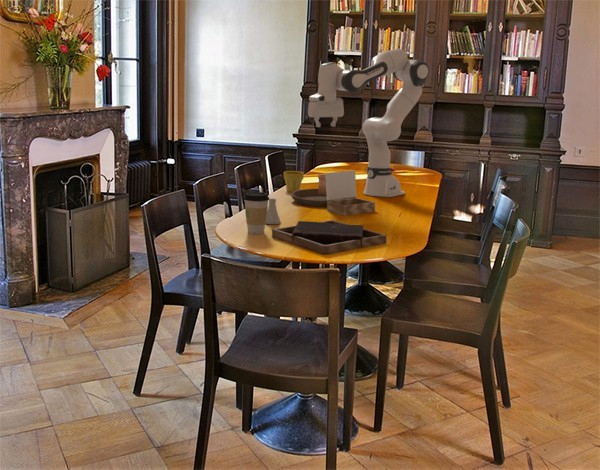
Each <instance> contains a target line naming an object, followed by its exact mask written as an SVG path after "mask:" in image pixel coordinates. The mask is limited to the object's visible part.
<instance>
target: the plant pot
mask: <svg viewBox="0 0 600 470" xmlns="http://www.w3.org/2000/svg"><path fill="white" fill-rule="evenodd" d="M283 180H284V182H285V188H286V192H291V193H292V192H294V191H297V190H301V186H302V182H303V180H304V172H303V171H299V170H286V171H284V172H283Z"/></svg>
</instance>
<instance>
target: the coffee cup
mask: <svg viewBox="0 0 600 470" xmlns="http://www.w3.org/2000/svg"><path fill="white" fill-rule="evenodd" d="M269 199H270V197H269V195H268V193H267V192H263V191H262V192H261V191H249V192H246V193H245V194H244V196H243V199H242V200H244V211H245V212H244V213H245V220H246V228H247V234H249V235H263V234H264V233H265V228H266V227H265V226H266V225H267V224H266V217H267V211H268V207H269Z"/></svg>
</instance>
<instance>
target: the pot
mask: <svg viewBox="0 0 600 470" xmlns="http://www.w3.org/2000/svg"><path fill="white" fill-rule="evenodd" d="M317 179H318V188H317V189H318V194H323V195H326V194H327V192H326V175H325V173H319V174H317Z"/></svg>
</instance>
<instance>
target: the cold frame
mask: <svg viewBox="0 0 600 470" xmlns="http://www.w3.org/2000/svg"><path fill="white" fill-rule="evenodd" d="M326 210H327V212H329V213H332V214H333V213H334V214H338V215H341V216H352V215H359V214H366V213H367V214H368V213H373V212H376V201H371V200H367V199H362V198H360V197H359V198H358V197H355V198H353V199H345V200H337V201H332V200H330V201H329V202H327V207H326Z"/></svg>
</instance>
